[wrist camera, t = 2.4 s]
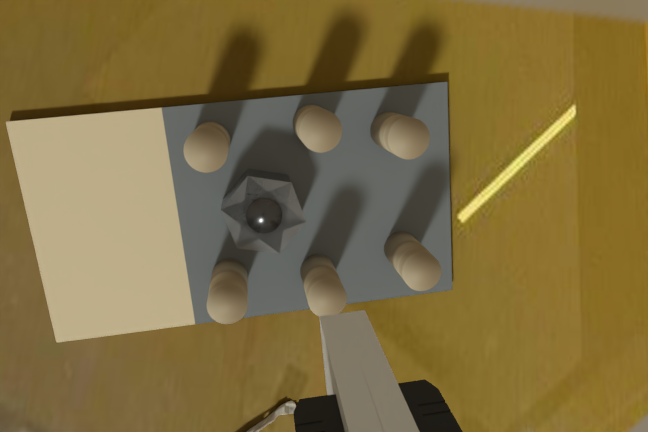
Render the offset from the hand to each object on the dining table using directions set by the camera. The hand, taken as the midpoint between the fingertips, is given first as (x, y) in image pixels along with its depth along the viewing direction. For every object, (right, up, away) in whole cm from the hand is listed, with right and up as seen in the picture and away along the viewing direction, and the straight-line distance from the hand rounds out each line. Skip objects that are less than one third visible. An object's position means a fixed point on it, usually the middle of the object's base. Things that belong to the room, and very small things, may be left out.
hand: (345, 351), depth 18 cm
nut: (-5, +5, +22) cm, 23 cm away
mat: (-6, +5, +22) cm, 24 cm away
